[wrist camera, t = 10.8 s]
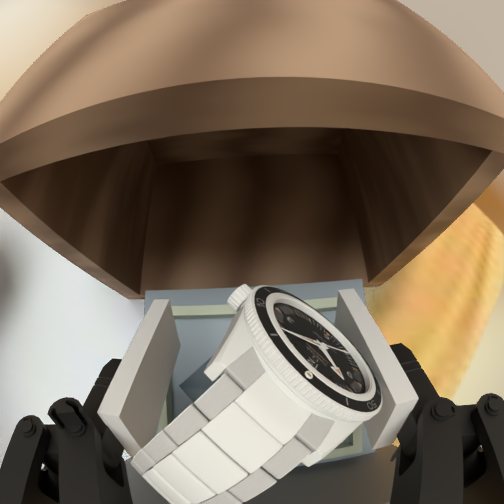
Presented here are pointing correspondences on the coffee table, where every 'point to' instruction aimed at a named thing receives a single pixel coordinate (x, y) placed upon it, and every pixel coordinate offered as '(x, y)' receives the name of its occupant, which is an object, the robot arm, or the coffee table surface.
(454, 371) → the coffee table surface
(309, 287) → the drawer tray
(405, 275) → the coffee table surface
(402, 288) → the coffee table surface
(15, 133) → the watch cabinet
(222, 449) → the watch
